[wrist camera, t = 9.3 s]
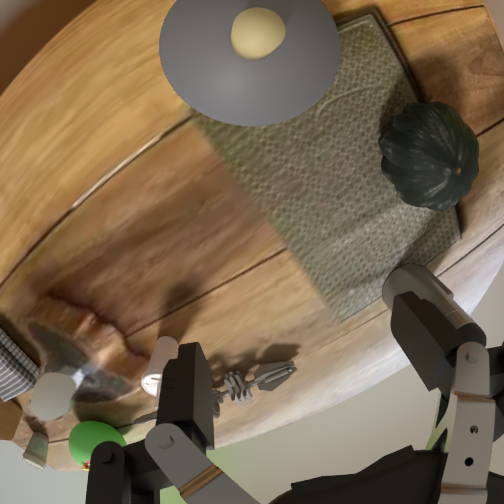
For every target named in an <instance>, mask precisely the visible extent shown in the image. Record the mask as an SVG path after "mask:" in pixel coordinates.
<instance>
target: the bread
mask: <svg viewBox="0 0 504 504" xmlns="http://www.w3.org/2000/svg"><path fill="white" fill-rule="evenodd" d="M22 411H23V410H22V409H21V408H20V407H19V406H18V405H17V404H16V403H15V402H14V401H13V400H12V399H10V400H8V401H5V402H4V401H3V400H2V399H1V397H0V440H9V441H10V440H11V439H12V438H13V437H14V435H15V431H16V429H17V426H18V424H19V421H20V418H21V415H22Z"/></svg>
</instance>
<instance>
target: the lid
mask: <svg viewBox="0 0 504 504" xmlns="http://www.w3.org/2000/svg"><path fill="white" fill-rule="evenodd" d="M159 53H160V60H161V64H162V67H163V71H164V73H165V75H166V77H167V79H168V81H169V83H170V84H171V86H172V87H173V89H174V90H175V91H176V93H177V94H178V95H179V96H180V97H181V98H182V99H183V100H184V101H185V102H186V103H187V104H189V105H190V106H191V107H193V108H194V109H196V110H197V111H199V112H200V113H202V114H204V115H206V116H208V117H210V118H212V119H215V120H218V121H221V122H224V123H229V124H233V125H240V126H264V125H272V124H276V123H280V122H284V121H286V120H289V119H292V118H294V117H296V116H298V115H300V114H302V113H304V112H305V111H307V110H308V109H309V108H311V107H312V106H313V105H315V104H316V103H317V102H318V101H319V100H320V99H321V98H322V97H323V95H324V94H325V93H326V92H327V91H328V89H329V87H330V86H331V84H332V83H333V80H334V78H335V76H336V74H337V70H338V66H339V62H340V39H339V34H338V30H337V27H336V24H335V22H334V20H333V18H332V16H331V14H330V12H329V11H328V9H327V8H326V6H325V5H324V4H323V3H322V2H321V0H177V1H176V2H175V3H174V5H173V6H172V7H171V9H170V10H169V12H168V14H167V16H166V18H165V20H164V23H163V26H162V29H161V33H160V39H159Z"/></svg>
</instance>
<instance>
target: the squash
mask: <svg viewBox="0 0 504 504" xmlns="http://www.w3.org/2000/svg"><path fill="white" fill-rule="evenodd" d="M390 128H391V129H390V130H388V131H386V132H385V133H383V134H382V135H381V136H380V137H379V139H378V144H379V147H380V149H381V151H382V152H383V154H384V156H383V158H382V162H381V169H382V173H383V174H384V175H385V177H386V178H388V179H389V180H390V181H391V182H392V183H393V184H394V185H395V188H396V191H397V194H398V195H399V197H400V198H401V199H402V200H403V201H404V202H405V203H407V204H409V205H412V206H416V207H427V208H429V209H432V210H436V211H442V210H446V209H448V208H451V207H453V206H454V205H455V204H456V203H457V202H458V201H459V200H460V199H461V198H462V197H464V196H466V195H467V194H468V192H469V191H470V189H471V186H472V182H473V181H474V180H475V178H476V177H477V175H478V172H479V167H478V157H479V143H478V140H477V138H476V135H475V134H474V132H473V131H472V130H471V128H470V127H469V126H468V125H467V124H466V123H464V121H463V119H462V118H461V116H460V115H459V114H458V112H457V111H456V110H455V109H453V108H452V107H451V106H449V105H447V104H444V103H442V102H433V103H430V104H424V103H411V104H408V105H407V106H405V108H404V110H403V114H398V115H395V116H394V117H393V118H392V119H391V123H390Z"/></svg>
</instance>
